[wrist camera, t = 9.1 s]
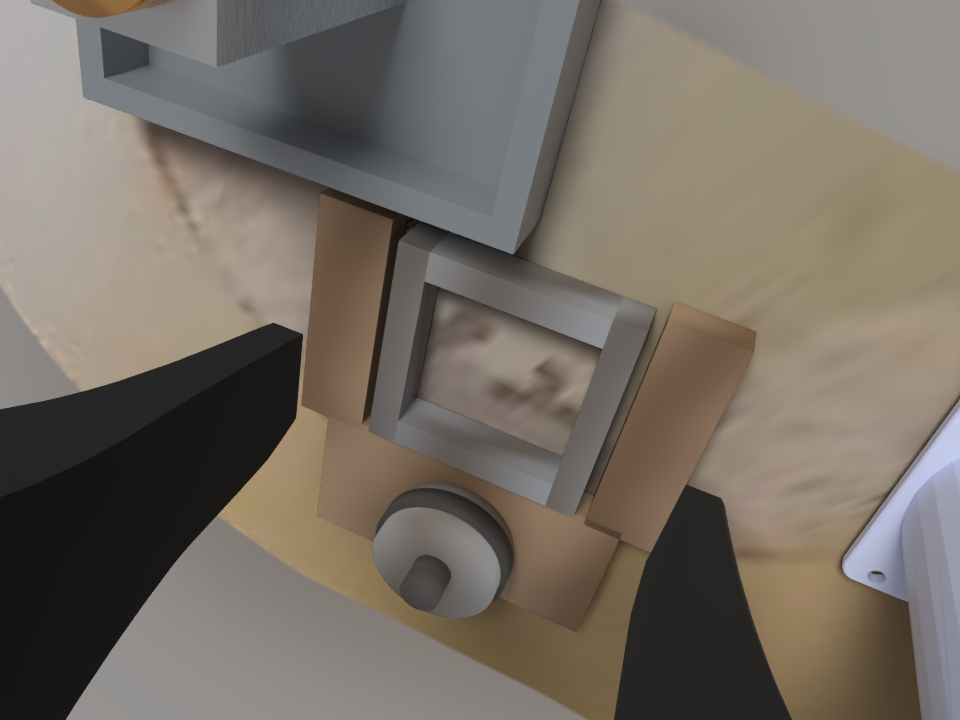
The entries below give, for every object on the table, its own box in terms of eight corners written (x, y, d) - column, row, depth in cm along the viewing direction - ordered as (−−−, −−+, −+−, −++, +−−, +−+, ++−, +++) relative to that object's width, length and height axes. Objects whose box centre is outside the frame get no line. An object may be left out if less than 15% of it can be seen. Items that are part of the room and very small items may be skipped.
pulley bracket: (756, 331, 22) (743, 419, 19) (610, 621, 30) (582, 720, 27) (340, 180, 24) (259, 234, 21) (307, 487, 32) (245, 563, 29)
